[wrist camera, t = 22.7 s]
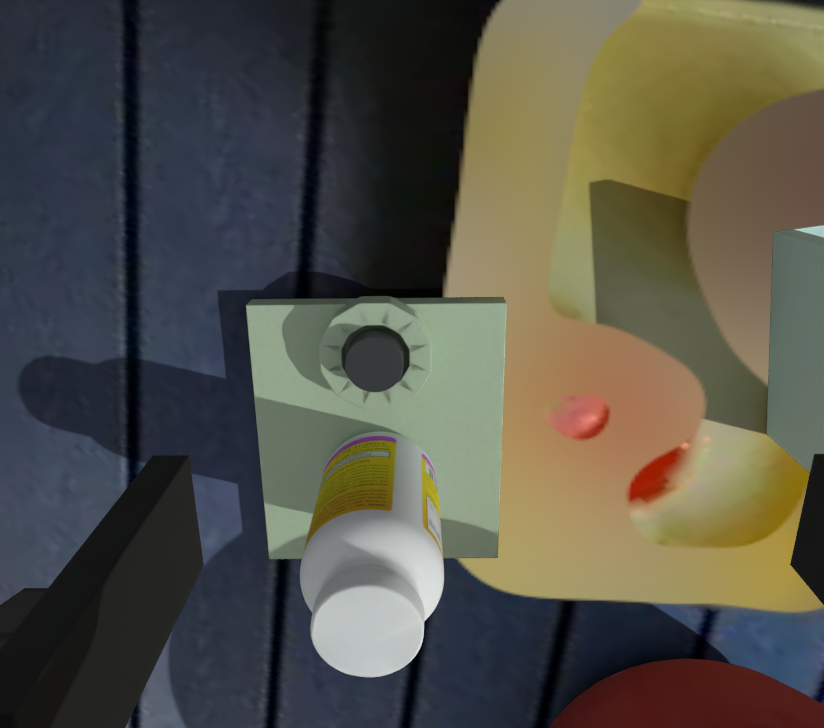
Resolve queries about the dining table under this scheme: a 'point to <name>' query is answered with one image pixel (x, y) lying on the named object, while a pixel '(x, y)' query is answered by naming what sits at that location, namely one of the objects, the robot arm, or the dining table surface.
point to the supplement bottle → (373, 555)
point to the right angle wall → (797, 344)
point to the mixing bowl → (690, 699)
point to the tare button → (374, 360)
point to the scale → (380, 405)
